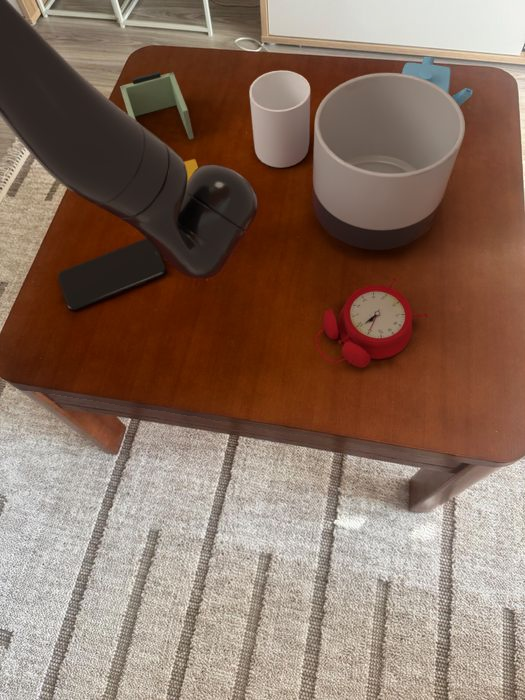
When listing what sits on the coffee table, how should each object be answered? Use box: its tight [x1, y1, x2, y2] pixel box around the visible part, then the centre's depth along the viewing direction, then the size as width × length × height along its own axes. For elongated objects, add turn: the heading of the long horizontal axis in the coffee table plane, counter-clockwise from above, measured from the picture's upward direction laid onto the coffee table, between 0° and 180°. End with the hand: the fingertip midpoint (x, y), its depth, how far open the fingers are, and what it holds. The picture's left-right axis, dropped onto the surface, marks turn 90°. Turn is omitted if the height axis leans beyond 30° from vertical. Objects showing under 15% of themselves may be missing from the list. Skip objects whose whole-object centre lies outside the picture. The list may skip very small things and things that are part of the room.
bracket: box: [119, 71, 195, 140], centre depth 93 cm, size 11×10×7 cm
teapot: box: [400, 56, 474, 107], centre depth 88 cm, size 18×14×10 cm
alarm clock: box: [314, 277, 429, 368], centre depth 73 cm, size 10×6×15 cm
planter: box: [311, 72, 466, 251], centre depth 76 cm, size 19×19×18 cm
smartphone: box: [57, 237, 168, 312], centre depth 81 cm, size 8×1×16 cm
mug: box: [248, 70, 311, 169], centre depth 87 cm, size 10×12×12 cm
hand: (193, 211), depth 82 cm, fingers closed
